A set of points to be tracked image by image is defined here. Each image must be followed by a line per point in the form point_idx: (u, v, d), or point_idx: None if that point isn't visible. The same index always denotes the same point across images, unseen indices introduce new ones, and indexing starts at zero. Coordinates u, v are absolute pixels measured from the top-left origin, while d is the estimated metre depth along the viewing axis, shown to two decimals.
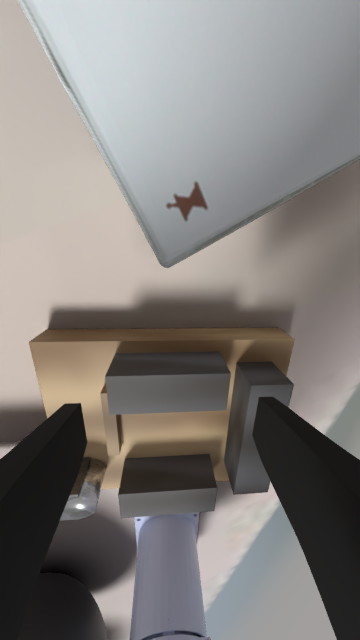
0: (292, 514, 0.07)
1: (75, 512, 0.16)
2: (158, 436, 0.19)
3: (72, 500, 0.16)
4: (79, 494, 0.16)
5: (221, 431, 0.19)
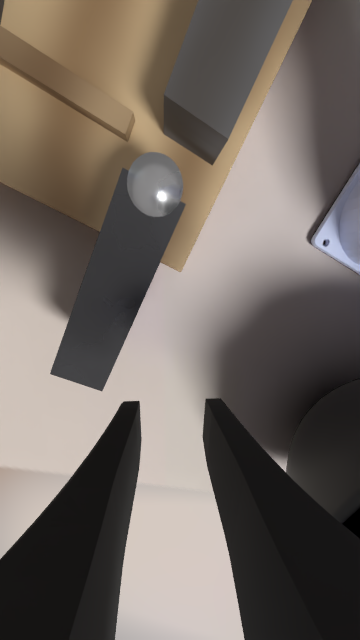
0: (224, 520, 0.06)
1: (161, 201, 0.09)
2: (144, 27, 0.10)
3: (131, 186, 0.09)
4: (130, 171, 0.09)
5: None
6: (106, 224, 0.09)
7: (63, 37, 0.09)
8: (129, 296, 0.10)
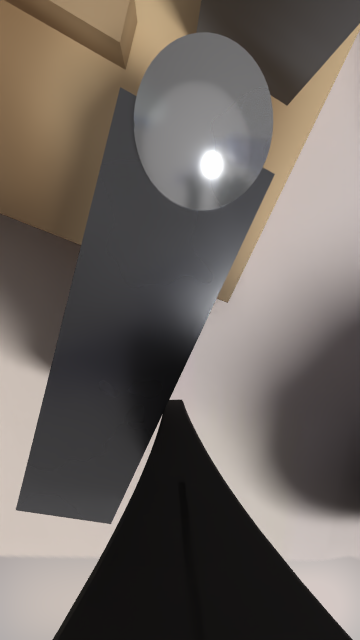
0: None
1: (219, 171, 0.04)
2: None
3: (146, 138, 0.04)
4: (140, 100, 0.04)
5: None
6: (93, 237, 0.04)
7: None
8: (151, 377, 0.05)
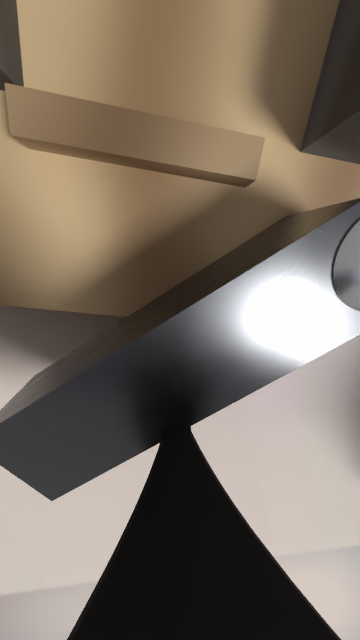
0: None
1: None
2: None
3: (355, 236, 0.04)
4: None
5: None
6: (267, 267, 0.04)
7: (121, 63, 0.05)
8: (209, 393, 0.05)
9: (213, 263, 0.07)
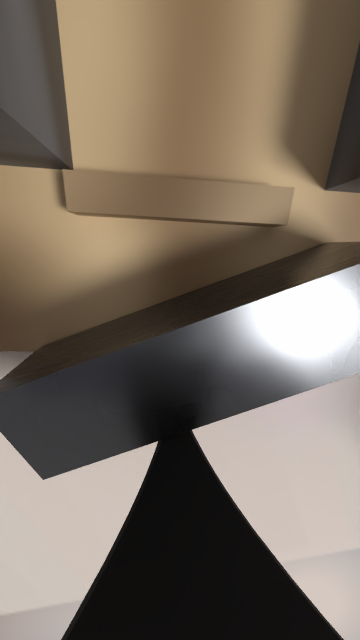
0: None
1: None
2: (272, 49, 0.06)
3: None
4: None
5: None
6: (323, 284, 0.05)
7: (158, 134, 0.06)
8: (234, 394, 0.06)
9: (250, 271, 0.07)
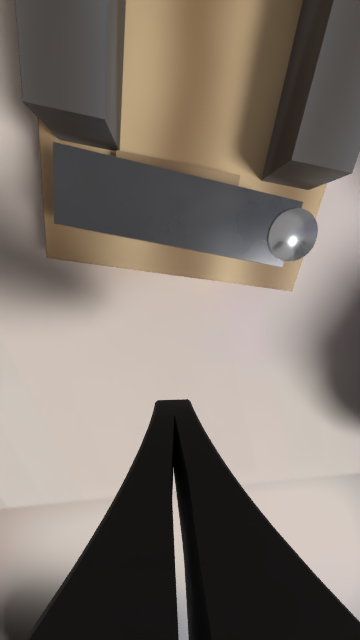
0: (182, 523, 0.06)
1: (282, 244, 0.10)
2: (233, 100, 0.11)
3: (289, 214, 0.10)
4: (299, 209, 0.10)
5: None
6: (254, 194, 0.09)
7: (168, 137, 0.11)
8: (188, 233, 0.10)
9: None
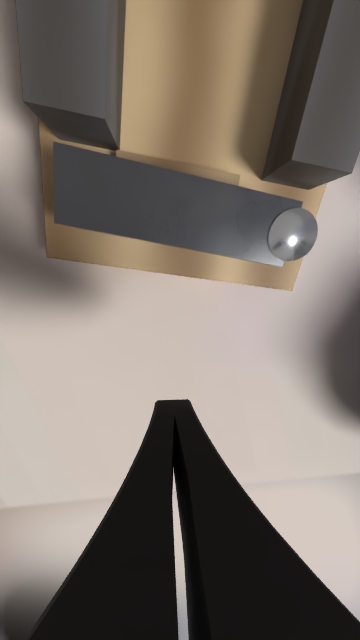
0: (182, 523, 0.06)
1: (282, 244, 0.10)
2: (233, 100, 0.11)
3: (289, 213, 0.10)
4: (299, 209, 0.10)
5: None
6: (254, 194, 0.09)
7: (168, 137, 0.11)
8: (188, 233, 0.10)
9: None
